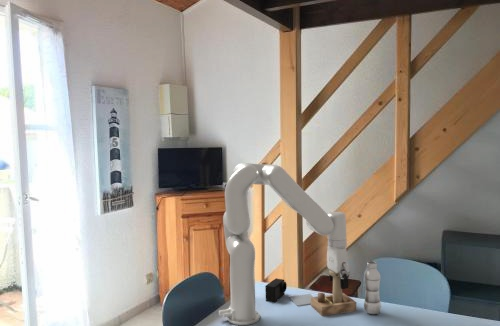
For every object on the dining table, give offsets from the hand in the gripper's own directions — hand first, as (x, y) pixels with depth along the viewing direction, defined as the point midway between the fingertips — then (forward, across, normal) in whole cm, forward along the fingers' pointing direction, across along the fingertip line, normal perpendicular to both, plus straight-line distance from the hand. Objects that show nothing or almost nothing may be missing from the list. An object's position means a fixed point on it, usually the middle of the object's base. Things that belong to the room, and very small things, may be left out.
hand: (338, 284), depth 163 cm
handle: (+10, 0, -1) cm, 10 cm away
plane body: (+10, 0, -3) cm, 10 cm away
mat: (+9, -12, -11) cm, 18 cm away
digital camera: (+9, -18, -21) cm, 29 cm away
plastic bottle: (+10, +9, +10) cm, 16 cm away
